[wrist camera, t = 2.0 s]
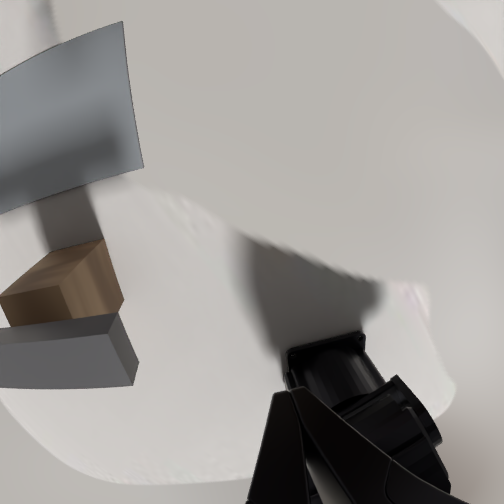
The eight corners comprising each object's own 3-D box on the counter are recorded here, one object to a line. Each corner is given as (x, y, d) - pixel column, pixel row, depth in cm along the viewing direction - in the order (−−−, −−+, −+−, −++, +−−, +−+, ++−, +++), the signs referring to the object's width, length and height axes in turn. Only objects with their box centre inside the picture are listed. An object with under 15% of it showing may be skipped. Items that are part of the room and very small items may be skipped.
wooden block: (104, 238, 18) (58, 284, 12) (124, 299, 20) (94, 363, 13) (50, 251, 18) (-3, 297, 12) (72, 308, 20) (32, 366, 13)
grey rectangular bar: (118, 312, 11) (107, 333, 10) (139, 362, 12) (132, 385, 10) (-41, 332, 10) (-54, 347, 9) (-20, 369, 11) (-31, 384, 10)
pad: (123, 22, 14) (122, 20, 14) (144, 167, 17) (143, 168, 17) (-18, 88, 13) (-19, 88, 13) (0, 214, 17) (-2, 214, 16)
